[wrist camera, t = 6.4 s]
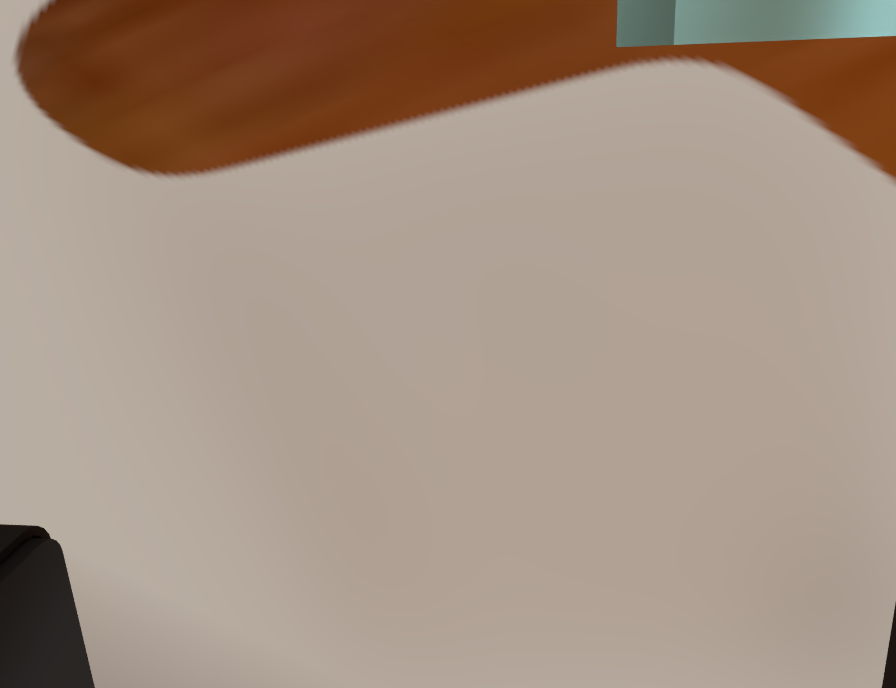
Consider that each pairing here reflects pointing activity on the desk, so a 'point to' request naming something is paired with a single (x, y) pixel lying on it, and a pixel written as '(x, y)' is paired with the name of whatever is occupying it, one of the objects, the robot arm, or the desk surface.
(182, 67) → the desk surface
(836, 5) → the lever
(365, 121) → the desk surface
